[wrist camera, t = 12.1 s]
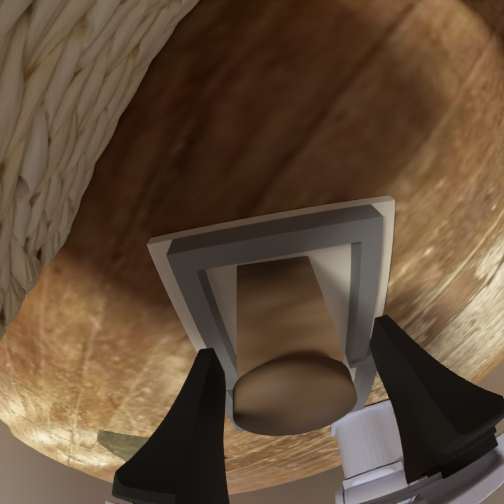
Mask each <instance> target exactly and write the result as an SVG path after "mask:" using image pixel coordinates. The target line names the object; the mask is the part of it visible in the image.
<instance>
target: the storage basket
mask: <svg viewBox="0 0 504 504" xmlns="http://www.w3.org/2000/svg"><path fill="white" fill-rule="evenodd" d="M198 2H199V0H0V341H1V339H2V338H3V336H4V334H5V332H6V329H5V326H8V325H9V324H10V323H11V322H12V321H13V320H14V319H15V317H16V316H17V314H18V313H19V311H20V308H21V306H22V303H23V301H24V299H25V295H26V294H28V293H29V292H30V291H31V290H32V289H33V288H34V286H35V285H36V284H37V282H38V280H39V277H40V274H41V272H42V269H45V268H46V267H47V266H48V265H49V264H50V262H51V261H52V260H53V258H54V256H55V255H56V254H57V253H58V251H59V248H61V247H62V246H63V245H64V243H65V242H66V240H67V237H68V235H69V233H70V231H71V227H72V223H73V220H74V218H75V216H76V214H77V212H78V209H79V207H80V202H81V198H82V196H83V194H84V192H85V190H86V189H87V187H88V185H89V182H90V180H91V178H92V175H93V171H94V167H95V162H96V161H97V160H98V159H99V157H100V156H101V154H102V153H103V151H104V149H105V148H106V146H107V145H108V143H109V142H110V140H111V138H112V136H113V134H114V131H115V129H116V126H117V124H118V120H119V117H120V116H121V114H122V113H123V111H124V110H125V109H126V107H127V106H128V104H129V103H130V101H131V99H132V97H133V96H134V94H135V92H136V91H137V89H138V87H139V85H140V83H141V81H142V79H143V77H144V75H145V73H146V71H147V69H148V67H149V65H150V63H151V61H152V60H153V58H154V57H155V56H156V55H157V54H158V53H159V51H160V50H161V49H162V47H163V46H164V45H165V43H166V42H167V41H168V39H169V37H170V36H171V34H172V33H173V31H174V29H175V27H176V25H177V23H178V22H179V21H180V20H181V19H182V18H183V17H184V16H185V15H186V14H187V13H189V12H190V11H191V10H192V9H193V8H194V6H195V5H196V4H197V3H198Z"/></svg>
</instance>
